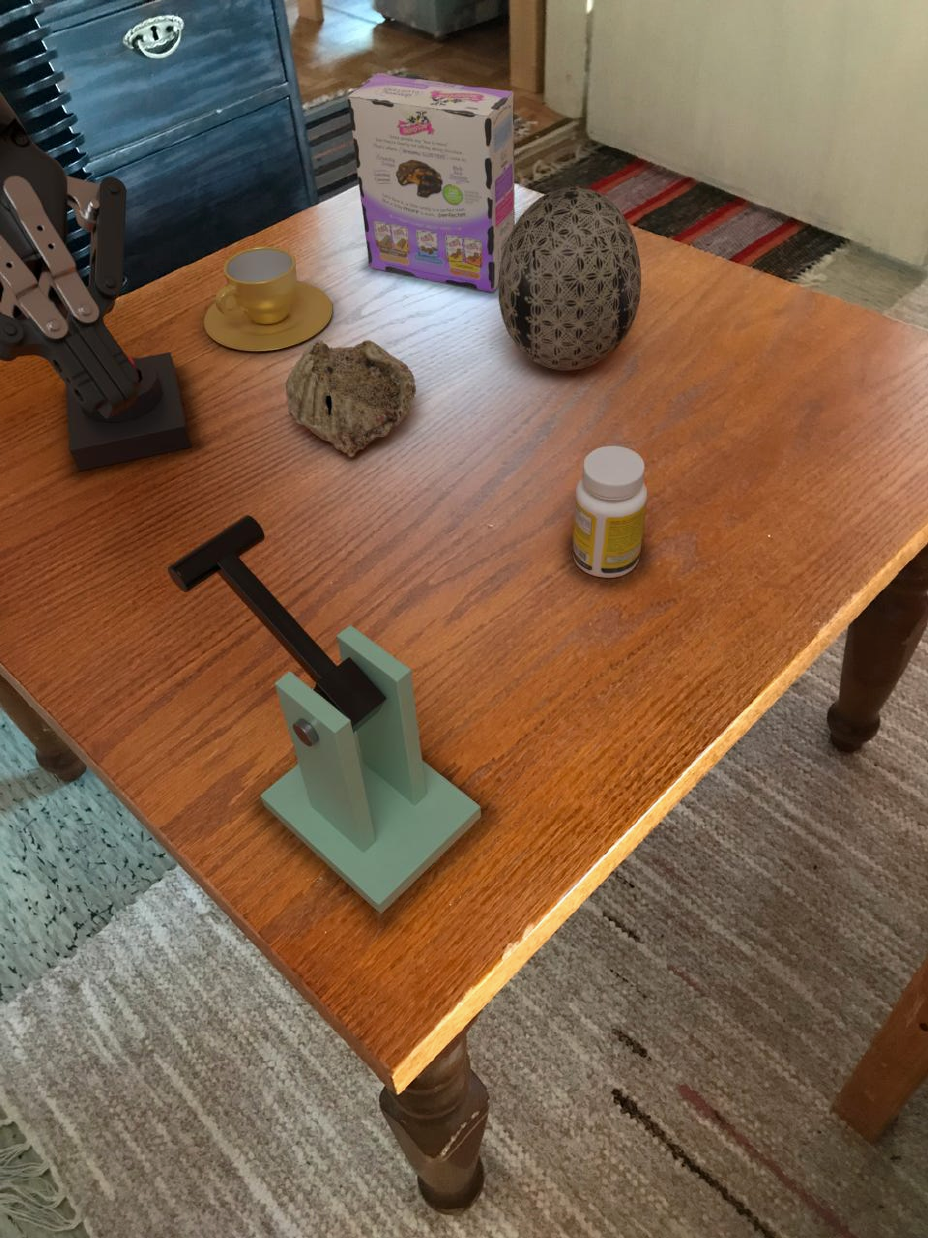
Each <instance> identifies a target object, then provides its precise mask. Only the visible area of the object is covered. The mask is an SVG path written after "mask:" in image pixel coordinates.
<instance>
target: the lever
mask: <svg viewBox="0 0 928 1238" xmlns="http://www.w3.org/2000/svg"><path fill="white" fill-rule="evenodd" d="M265 538H266V536H265V532H264V529H263V527H262V525H261V524H260V523H259V521H257V520H256V519H255V518H254V517H253V516H252V515H249V514H247V515H244V516H243V517H241V518H240V519H238V520H237V521H235V522H234V523H232V524H231V525H229V526H228V527H226V528H225V529H223V530H221V531H220V532H218V533H217V534H215V535H214V536H212V537H210V538H209V539H207V540H206V541H205V542H203V543H202V544H200V545H199V546H196V547H195V548H194V549H192V550H191V551H190V552H188V553H186V554H185V555H183V556H182V557H180V558H178V559H177V560H176V561H175V562H173V563H171V564H170V565H168V567H167V572H168V575H169V577H170V579H171V580H172V582H173V583H174V585H175V586H176V587H177V588H178V589H179V590H181V591H182V592H183V593H188V592H190V591H192V590H193V589H194V588H197V587H198V586H199V585H200V584H202V583H204V582H205V581H206V580H208V579H210V577H212V576H214V575H215V574H217V575H218V576H219V577H220V578H221V579H222V580H223V581H224V582H225V583H226V584H227V586H228V587H229V588H230V589H231V590H232V592H234V594H235V595H236V596H237V597H238V598H239V599H240V600H241V601H242V603H243V604H244V605H245V606H246V607H247V608H248V609H249V610H250V612H251V613H252V614H253V615H254V616H255V617H256V618H257V619H258V620H259V621H260V623H261V624H262V625H263V626H264V627H265V628H266V629H267V630H268V632H269V633H270V634H271V635H272V636H273V637H274V638H275V640H277V641H278V643H279V644H280V645H281V646H282V647H283V648H284V650H286V652H287V653H288V654H289V655H290V657H292V658H293V660H295V662H296V663H297V664H298V666H300V667H301V668H302V669H303V671H304V672H305V673H306V674H307V675H308V676H309V677H310V678H311V679H312V681H313V682H314V683H315V685H314V687H313V688H312V690H314V691H315V692H316V693H317V694H319V695H320V696H321V697H322V698H324V699H325V700H326V701H327V702H329V703H330V704H331V705H332V706H333V707H335V708H336V709H337V710H338V711H340V712H341V713H342V714H343V715H345V716H346V717H347V718H348V719H350V721H351V726H352V731H353V733H354V732H355V731H357V730H358V729H359V728H360V727H361V726H363V725H364V724H365V723H366V722H367V721H369V720H370V719H371V718H372V717H373V716H374V715H376V714H377V713H378V711H379V710H380V708H381V707H382V705H383V703H384V702H385V700H386V699H387V698H386V697H385V696H384V694H383V693H382V692H381V691H380V690H379V689H378V688H377V687H376V686H375V684H374V683H373V682H372V681H371V680H370V679H369V678H368V677H367V676H366V675H365V673H364V672H363V671H362V670H361V669H360V668H359V667H358V666H357V665H356V663H355V662H354V661H353V660H352V659H351V658H350V657H348V658H347V659H346V660H344V661H343V662H342V661H341V662H340V663H339V664H338V665H337V664H336V663H335V662H334V661H333V660H332V658H330V657H329V656H328V655H327V653H326V652H325V651H324V649H322V648H321V646H320V645H318V643H317V642H316V641H315V640H314V639H313V637H311V636H310V634H309V633H308V632H307V631H306V630H305V629H304V628H303V627H302V626H301V624H299V622H298V621H297V620H296V619H295V618H294V617H293V615H291V613H290V612H289V611H288V610H287V609H286V608H285V606H283V604H282V603H281V602H280V601H279V599H278V598H276V596H275V595H274V594H273V593H272V592H271V591H270V589H268V588H267V587H266V585H264V583H263V582H262V581H261V580H260V579H259V578H258V577H257V576H256V575H255V573H254V572H253V571H252V570H251V569H250V567H248V566H247V564H246V563H245V562H244V561H243V560H242V559H241V558H240V557H241V556H243V555H245V554H246V553H248V552H249V551H251V550H252V549H253V548H255V547H256V546H258V545H260V544H261V543H262V542H263V541H265Z"/></svg>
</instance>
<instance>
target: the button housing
mask: <svg viewBox="0 0 928 1238" xmlns="http://www.w3.org/2000/svg"><path fill="white" fill-rule="evenodd" d="M130 357H131V358H132V359H133V361H134V364H135V367H136V370H137V372H138V375H139V384H138V386H137V387H135V388H136V390H137V392H138V397H137V399H136V400H135V402H134V403H133V405H131V406H129V407H128V408H126V409H124V410H122V411H120V412H119V413H117V414H115V415H113V416H112V417H110V418H108V419H106V418H105V417H103V415H102V414H101V413H100V412H99V410H96V411H94V412H92V413H90V412H89V411H88V410H86V409H85V408H83V407H82V406H81V405H80V404H79V402H78V401H77V400H76V398H75V397H74V395H73V394H72V393H71V391H70V390H69V388H68V387H67V386H66V384H65V383H64V385H65V386H64V387H65V400H66V412H67V427H68V430H67V431H68V443H69V452H70V454H71V456H72V459H73V461H74V463H75V465H76V468H77V470H78V472H83V471H88V470H93V469H97V468H101V467H106V466H111V465H115V464H120V463H125V462H130V461H134V460H139V459H143V458H148V457H153V456H158V455H161V454H166V453H172V452H176V451H180V450H185V449H189V448H192V442H191V437H190V432H189V427H188V423H187V418H186V412H185V407H184V402H183V397H182V393H181V387H180V383H179V378H178V372H177V369H176V366H175V362H174V359H173V356H172V352H171V351H170V352H164V353H163V352H162V353H158V354H154V355H149V356H144V357H132V356H130Z"/></svg>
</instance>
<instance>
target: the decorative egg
mask: <svg viewBox="0 0 928 1238" xmlns="http://www.w3.org/2000/svg"><path fill="white" fill-rule="evenodd" d="M641 289H642V269H641V259H640V256H639V250H638V245H637V241H636V238H635V236H634V234H633V231H632V228H631V226H630V225H629V222H628V221H627V219H626V217H625V216H624V214H623V213H622V212H621V210H620V209H619V207H617V206H616V204H615V203H613V202H612V201H611V200H609V199H608V198H607V197H606V196H605V195H603V194H601V193H600V192H598V191H596V190H592V189H590V188H587V187H583V186H565V187H564V186H563V187H560V188H556V189H555V190H551V191H549V192H547V193H545V194H544V195H542V196H540V197H539V198H538V199H536V200H535V201H534V202H533V203H532V204H530V205H529V206H528V208H526V210H524V211H523V213H522V214H521V216H520V217H518V219H517V221H515V225H514V227H513V229H512V231H511V233H510V235H509V237H508V240H507V242H506V245H505V248H504V251H503V255H502V259H501V264H500V271H499V280H498V287H497V291H498V305H499V311H500V314H501V318H502V321H503V324H504V327H505V330H506V331H507V334H508V335H509V336H510V338H511V340H512V342H513V343H514V344H515V345H516V346H515V347H517V348H518V349H519V350H520V351H521V352H522V353H523V354H524V355H525V356H526V357H527V358H529V359H531V360H532V361H533V362H534V363H537V364H539V365H541V366H542V367H546V368H549V369H553V370H556V371H577V370H581V369H582V370H583V369H585V368H588V367H591V366H593V365H595V364H597V363H600V362H601V361H603V360H604V359H606V358H607V357H608V356H610V355H611V354H613V352H614V351H615V350H616V349H617V348H618V347H619V346H620V345H621V343H622V342H623V341H624V340H625V338H626V337H627V335H628V334H629V332H630V330H631V329H632V326H633V324H634V321H635V319H636V316H637V312H638V309H639V305H640V300H641V292H642V290H641Z"/></svg>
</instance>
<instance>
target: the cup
mask: <svg viewBox="0 0 928 1238" xmlns="http://www.w3.org/2000/svg"><path fill="white" fill-rule="evenodd" d="M296 263H297V261H296V258H295V256H294V255H293V253H292V252H290V251H289V250H287V249H285V248H281V247H278V246H268V245H267V246H265V245H264V246H255V247H250V248H246V249H243V250H240V251H238V252H236V253H234V254H233V255H231V256H230V257H229V258H228V259H226V261H225V262H224V264H223V267H222V272H223V275H224V278H225V280H226V283H227V285H225V286H223V287H222V288H220V289H219V290H218V291H217V293H216V294H215V297H214V302H213V303H212V304H211V305H210V306H209V307H208V309H207V310H206V313H205V315H204V318H203V327H204V329H205V330H204V331H205V332H206V333H207V335H208V336H209V337H210V338H211V339H212V340H213V341H215V342H216V343H218V344H220V345H222V346H224V347H227V348H231V349H234V350H238V351H245V352H246V351H247V352H266V351H274V350H280V349H285V348H288V347H291V346H294V345H298V344H301V343H302V342H304V341H306V340H309V339H310V338H312V337H314V336H315V335H317V334H318V333H319V332H321V330H323V329H324V328H325V327H326V326H327V325H328V323H329V322H330V319H331V318H332V315H333V309H334V307H333V303H332V301H331V299H330V297H329V296H328V295H327V294H326V292H324V291H323V290H322V289H320V288H318V287H316V286H313V285H312V284H308V283H305V282H301V281H297V264H296Z"/></svg>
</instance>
